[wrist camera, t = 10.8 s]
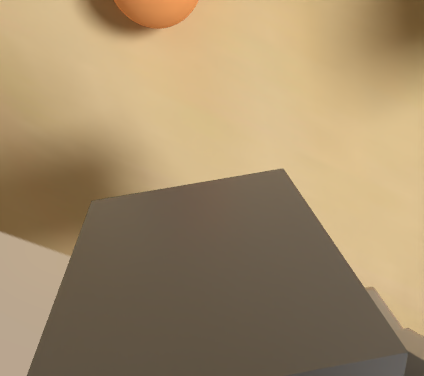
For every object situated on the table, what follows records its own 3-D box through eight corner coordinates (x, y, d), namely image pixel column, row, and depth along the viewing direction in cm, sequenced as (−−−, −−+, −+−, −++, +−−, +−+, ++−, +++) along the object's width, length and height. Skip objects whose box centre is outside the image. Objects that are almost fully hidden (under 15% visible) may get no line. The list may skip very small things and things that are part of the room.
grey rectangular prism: (91, 200, 13) (7, 427, 6) (283, 168, 13) (408, 352, 6) (136, 334, 16) (114, 578, 9) (289, 306, 17) (376, 525, 10)
